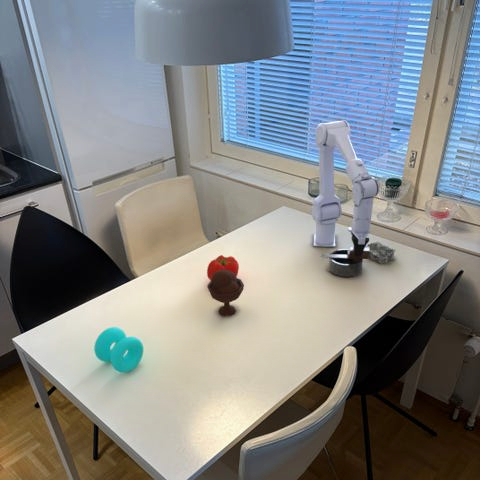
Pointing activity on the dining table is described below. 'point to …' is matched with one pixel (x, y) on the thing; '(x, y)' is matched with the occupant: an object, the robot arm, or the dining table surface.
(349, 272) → the bowl
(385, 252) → the egg carton
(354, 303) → the dining table surface
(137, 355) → the donuts
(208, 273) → the tomato
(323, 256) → the knife
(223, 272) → the ice cream bowl
